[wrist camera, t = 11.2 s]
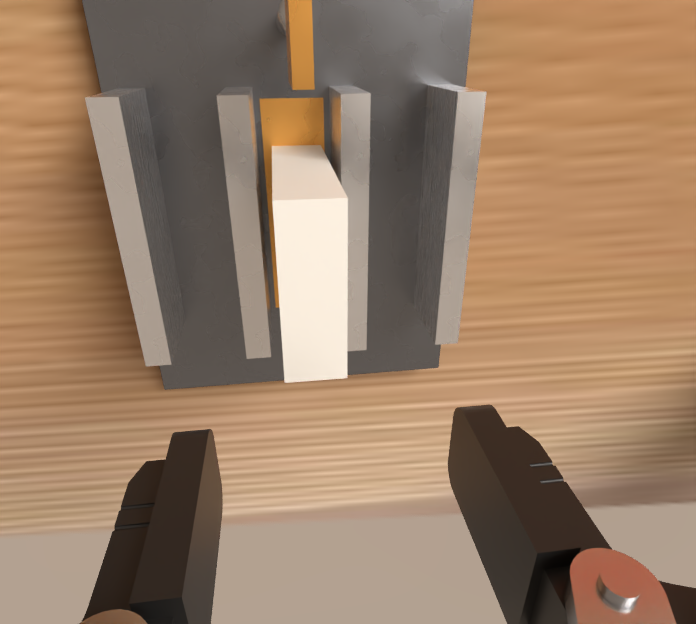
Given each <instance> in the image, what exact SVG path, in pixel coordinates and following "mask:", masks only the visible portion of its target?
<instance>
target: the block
mask: <svg viewBox="0 0 696 624" xmlns="http://www.w3.org/2000/svg"><path fill="white" fill-rule="evenodd" d="M272 203H273V218H274V233H275V248H276V263H277V277H278V292H279V307H280V322H281V336H282V351H283V366H284V381H285V383H289V382H302V381H315V380H329V379H342V378H347V319H348V197H347V195H346V193H345V191H344V190H343V188H342V186H341V184H340V182H339V180H338V178H337V176H336V174H335V172H334V170H333V168H332V166H331V164H330V162H329V160H328V158H327V156H326V154H325V152H324V150H323V148H322V147H321V145H296V146H272Z"/></svg>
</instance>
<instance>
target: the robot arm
mask: <svg viewBox="0 0 696 624" xmlns="http://www.w3.org/2000/svg"><path fill="white" fill-rule="evenodd" d="M448 471H449V478H450V483H451V487H452V490H453V492H454V495H455V497H456V500H457V502H458V504H459V507H460V509H461V512H462V514H463V517H464V519H465V522H466V524H467V526H468V529H469V531H470V534H471V536H472V539H473V541H474V543H475V546H476V548H477V551H478V553H479V556H480V558H481V561H482V563H483V565H484V568H485V570H486V573H487V575H488V577H489V580H490V582H491V585H492V587H493V590H494V592H495V595H496V597H497V599H498V602H499V604H500V607H501V609H502V612H503V614H504V617H505V619H506V621H507V624H696V588H691V587H685V586H680V585H674V584H670V583H665V582H662V581H659V580H657V578H656V577H655V576H654V575H653V574H652V573H651V572H650V571H649V570H648V569H647V568H646V567H645V566H643V565H642V564H641V563H640V562H638V561H637V560H635V559H633V558H632V557H630V556H628V555H626V554H623V553H621V552H618V551H615V550H612V548H611V547H610V546H609V544H608V543H607V542H606V540H605V539H604V537H603V536H602V534H601V533H600V531H599V530H598V528H597V527H596V525H595V524H594V523H593V521H592V520H591V518H590V517H589V515H588V514H587V512H586V511H585V509H584V508H583V506H582V505H581V503H580V502H579V500H578V499H577V497H576V496H575V494H574V493H573V492H572V490H571V489H570V487H569V486H568V484H567V483H566V482H564V481H563V477H562V475H561V474H560V472H559V471H558V469H557V468H556V466H553V465H552V461H551V459H550V458H549V456H548V455H547V453H546V452H545V450H544V449H543V447H542V446H541V444H540V443H539V442H538V441H537V440H536V439H534V438H533V437H532V436H530V435H529V434H528V433H526V432H525V431H524V430H522V429H521V428H520V427H519V426H518V427H506V425H505V424H504V422H503V421H502V419H501V417H500V416H499V414H498V413H497V411H496V409H495V408H494V407H493V406H492V405H481V406H470V407H459V408H456V409H455V411H454V416H453V424H452V432H451V440H450V449H449V457H448ZM221 520H222V484H221V478H220V472H219V466H218V459H217V453H216V447H215V441H214V436H213V432H212V430H211V429H208V430H196V431H185V432H175V433H173V435H172V438H171V441H170V445H169V449H168V453H167V457H166V460H156V461H146V462H145V464H144V465H143V466H142V467H141V468H140V470H139V471H138V472H137V473H136V474H135V476H134V477H133V478H132V479H131V480H130V482H129V483H128V486H127V489H126V492H125V496H124V499H123V502H122V505H121V511H119V514H118V517H117V520H116V523H115V530H114V531H113V532H112V535H111V538H110V541H109V544H108V548H107V551H106V554H105V557H104V560H103V563H102V566H101V569H100V572H99V575H98V578H97V581H96V584H95V587H94V590H93V593H92V597H91V600H90V603H89V606H88V609H87V611H86V614H85V616H84V618H83V620H82V622H81V623H79V624H211V615H212V605H213V596H214V587H215V576H216V567H217V557H218V548H219V539H220V529H221Z"/></svg>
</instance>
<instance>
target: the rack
mask: <svg viewBox="0 0 696 624" xmlns="http://www.w3.org/2000/svg"><path fill="white" fill-rule="evenodd" d="M82 2H83V7H84V12H85V17H86V21H87V26H88V31H89V35H90V40H91V45H92V50H93V54H94V59H95V64H96V69H97V73H98V78H99V83H100V87H101V92H102V93H99V94H96V95H92V96H88V97H85V101H86V105H87V109H88V114H89V118H90V123H91V127H92V131H93V136H94V140H95V145H96V149H97V153H98V158H99V162H100V167H101V171H102V175H103V180H104V184H105V189H106V193H107V197H108V202H109V206H110V211H111V215H112V219H113V224H114V228H115V233H116V237H117V241H118V246H119V250H120V255H121V259H122V263H123V268H124V272H125V277H126V281H127V285H128V290H129V294H130V299H131V303H132V307H133V312H134V316H135V321H136V325H137V329H138V334H139V338H140V343H141V347H142V351H143V356H144V360H145V365H146V366H160V370H161V375H162V380H163V385H164V389H165V390H167V389H179V388H192V387H204V386H216V385H229V384H241V383H254V382H266V381H278V380H284V366H283V351H282V336H281V322H280V307H279V292H278V277H277V263H276V248H275V233H274V218H273V203H272V146H296V145H321V147H322V148H323V150H324V152H325V154H326V156H327V158H328V160H329V162H330V164H331V166H332V168H333V170H334V172H335V174H336V176H337V178H338V180H339V182H340V184H341V186H342V188H343V190H344V191H345V193H346V195H347V197H348V319H347V375H353V374H365V373H378V372H390V371H402V370H415V369H427V368H438V366H439V356H440V345H441V344H452V343H458V336H459V327H460V318H461V310H462V301H463V292H464V283H465V275H466V266H467V257H468V248H469V240H470V231H471V222H472V214H473V205H474V196H475V187H476V179H477V170H478V161H479V152H480V144H481V135H482V126H483V117H484V109H485V100H486V91H481V90H476V89H471V88H466V87H465V86H466V75H467V65H468V54H469V44H470V34H471V23H472V13H473V2H474V0H82Z"/></svg>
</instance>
